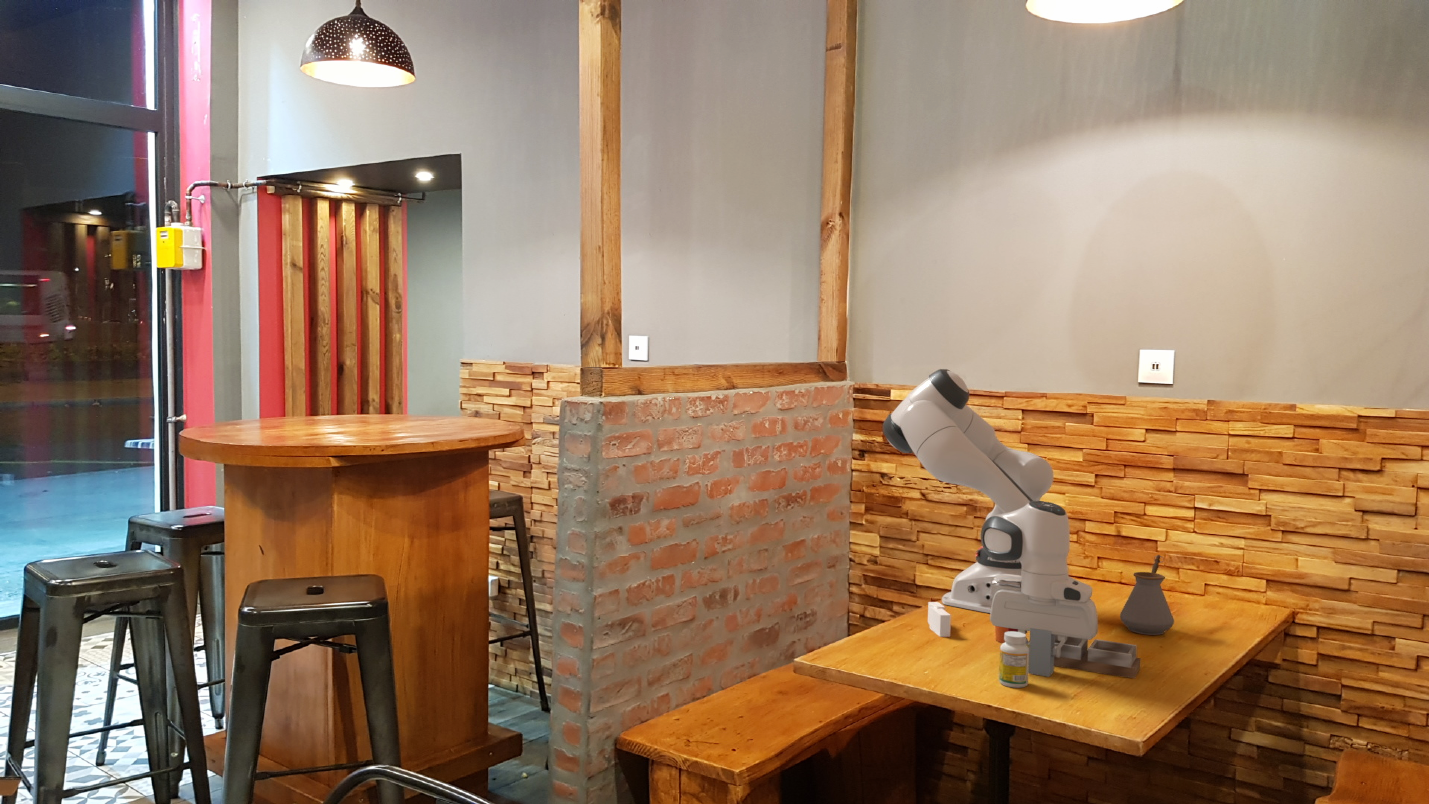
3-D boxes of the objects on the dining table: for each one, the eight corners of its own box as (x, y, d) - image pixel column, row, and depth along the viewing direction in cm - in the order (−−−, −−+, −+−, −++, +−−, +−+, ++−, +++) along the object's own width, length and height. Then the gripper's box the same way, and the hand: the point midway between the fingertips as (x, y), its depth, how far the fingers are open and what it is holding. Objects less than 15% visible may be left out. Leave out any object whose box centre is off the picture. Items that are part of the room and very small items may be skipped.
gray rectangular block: (1028, 673, 206) (1030, 628, 206) (1033, 668, 210) (1034, 623, 209) (1049, 676, 204) (1050, 631, 204) (1053, 671, 208) (1055, 626, 207)
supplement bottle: (1020, 690, 196) (1022, 639, 196) (994, 684, 200) (995, 634, 199) (1032, 683, 200) (1034, 634, 200) (1006, 677, 204) (1007, 628, 203)
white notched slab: (954, 643, 228) (955, 617, 228) (904, 634, 234) (905, 609, 234) (974, 627, 241) (975, 603, 241) (927, 620, 247) (928, 596, 247)
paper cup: (1028, 638, 231) (1030, 575, 231) (1026, 647, 224) (1028, 582, 223) (991, 634, 234) (993, 572, 233) (988, 643, 227) (990, 579, 226)
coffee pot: (1169, 640, 232) (1172, 573, 231) (1115, 632, 238) (1117, 566, 237) (1182, 619, 250) (1185, 557, 249) (1131, 612, 256) (1134, 551, 255)
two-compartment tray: (1034, 662, 214) (1035, 640, 213) (1043, 652, 221) (1044, 631, 220) (1134, 678, 204) (1135, 655, 204) (1140, 667, 211) (1141, 645, 211)
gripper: (987, 581, 208) (984, 649, 209) (1095, 595, 198) (1092, 667, 199) (995, 575, 214) (993, 642, 215) (1100, 588, 204) (1098, 658, 205)
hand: (1041, 654), depth 207 cm, fingers closed on gray rectangular block, 4 cm apart
